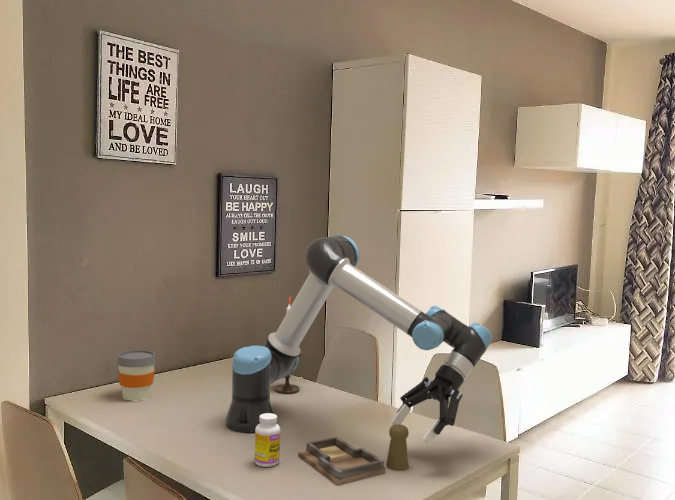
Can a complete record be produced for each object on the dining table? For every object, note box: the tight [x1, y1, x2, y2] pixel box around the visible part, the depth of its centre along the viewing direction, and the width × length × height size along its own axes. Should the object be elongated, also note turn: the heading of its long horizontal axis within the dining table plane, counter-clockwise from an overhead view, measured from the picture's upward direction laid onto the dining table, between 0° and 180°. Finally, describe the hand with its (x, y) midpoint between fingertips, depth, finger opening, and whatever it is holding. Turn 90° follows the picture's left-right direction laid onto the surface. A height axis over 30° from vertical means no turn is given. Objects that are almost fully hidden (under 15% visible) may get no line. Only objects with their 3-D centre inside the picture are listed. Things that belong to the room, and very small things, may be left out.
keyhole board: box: [297, 436, 386, 486], centre depth 173 cm, size 20×15×3 cm
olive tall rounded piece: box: [385, 424, 409, 472], centre depth 173 cm, size 6×6×11 cm
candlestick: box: [274, 295, 304, 395], centre depth 234 cm, size 11×11×35 cm
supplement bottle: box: [254, 413, 281, 468], centre depth 172 cm, size 7×7×13 cm
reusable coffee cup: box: [116, 349, 157, 402], centre depth 222 cm, size 13×13×15 cm
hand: (409, 433), depth 174 cm, fingers open, 13 cm apart
